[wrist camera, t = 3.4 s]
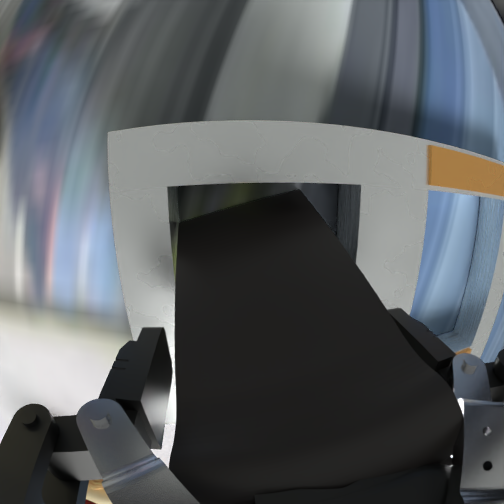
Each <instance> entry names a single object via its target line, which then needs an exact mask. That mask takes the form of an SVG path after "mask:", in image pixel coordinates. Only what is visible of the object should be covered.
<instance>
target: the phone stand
mask: <svg viewBox="0 0 504 504" xmlns="http://www.w3.org/2000/svg"><path fill="white" fill-rule="evenodd" d="M174 339H175V385H176V429H175V437H174V443H173V447H172V452H171V456H170V462H169V470H170V471H171V472H172V473H173V474H174V476H175V477H176V478H177V479H178V480H179V481H180V482H181V484H182V485H183V486H184V487H185V488H186V489H187V490H188V491H189V492H190V493H191V495H192V496H193V497H194V498H195V499H196V500H197V501H198V502H199V503H200V504H255V499H254V495H260V494H269V493H277V492H284V491H290V490H296V489H339V488H344V487H347V486H349V485H351V484H353V483H354V482H356V481H358V480H360V479H367V478H374V477H380V476H385V475H390V474H394V473H398V472H402V471H406V470H409V469H413V468H416V467H418V466H422V465H427V464H433V463H440V464H445V465H448V466H450V465H452V458H451V455H453V445H454V443H455V441H456V439H457V436H458V433H459V431H460V428H461V425H462V421H463V418H464V417H463V413H462V410H461V407H460V405H459V402H458V400H457V398H456V396H455V395H454V393H453V391H452V390H451V388H450V387H449V385H448V384H447V383H446V381H445V380H444V379H443V378H442V377H441V376H440V375H439V374H438V373H437V372H435V371H434V370H433V369H432V368H430V367H429V366H428V365H427V364H426V363H425V362H424V361H423V360H422V359H421V358H420V357H419V356H418V354H417V353H416V352H415V351H414V350H413V348H412V347H411V346H410V344H409V343H408V342H407V340H406V339H405V337H404V336H403V334H402V333H401V331H400V330H399V328H398V326H397V325H396V323H395V322H394V320H393V318H392V317H391V315H390V314H389V312H388V311H387V309H386V307H385V306H384V304H383V303H382V301H381V300H380V298H379V297H378V295H377V294H376V292H375V291H374V289H373V288H372V286H371V285H370V283H369V282H368V280H367V279H366V278H365V276H364V275H363V273H362V272H361V270H360V269H359V268H358V266H357V265H356V263H355V262H354V260H353V259H352V258H351V256H350V255H349V253H348V252H347V251H346V249H345V248H344V247H343V245H342V244H341V242H340V241H339V240H338V238H337V237H336V236H335V234H334V233H333V232H332V230H331V229H330V228H329V226H328V225H327V224H326V222H325V221H324V220H323V219H322V217H321V216H320V215H319V213H318V212H317V211H316V210H315V208H314V207H313V206H312V204H311V203H310V202H309V201H308V199H307V198H306V197H305V196H304V194H303V193H302V192H301V191H300V190H299V189H298V190H294V191H290V192H286V193H282V194H279V195H275V196H271V197H267V198H263V199H260V200H256V201H252V202H249V203H245V204H241V205H238V206H234V207H231V208H227V209H224V210H220V211H217V212H213V213H210V214H207V215H203V216H200V217H197V218H193V219H190V220H187V221H183V222H180V223H179V226H178V240H177V257H176V279H175V326H174Z"/></svg>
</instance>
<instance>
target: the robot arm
mask: <svg viewBox="0 0 504 504" xmlns="http://www.w3.org/2000/svg"><path fill="white" fill-rule="evenodd" d="M387 311H388V312H389V314H390V315H391V317H392V318H393V320H394V322H395V323H396V325H397V326H398V328H399V330H400V331H401V333H402V334H403V336H404V337H405V339H406V340H407V342H408V343H409V344H410V346H411V347H412V348H413V350H414V351H415V352H416V353H417V354H418V356H419V357H420V358H421V359H422V360H423V361H424V362H425V363H426V364H427V365H428V366H429V367H430V368H432V369H433V370H434V371H435V372H437V373H438V374H439V375H440V376H441V377H442V378H443V379H444V380H445V381H446V383H447V384H448V385H449V387H450V388H451V390H452V391H453V393H454V395H455V396H456V398H457V400H458V402H459V405H460V407H461V410H462V413H463V417H464V418H463V421H462V425H461V428H460V431H459V433H458V436H457V439H456V441H455V443H454V445H453V455H451V458H452V465H450V466H448V465H445V464H440V463H433V464H427V465H422V466H418V467H416V468H413V469H409V470H406V471H402V472H398V473H394V474H390V475H385V476H380V477H374V478H367V479H360V480H358V481H356V482H354V483H353V484H351V485H349V486H347V487H344V488H339V489H296V490H290V491H284V492H277V493H269V494H260V495H254V499H255V504H504V349H503V350H501V351H500V352H499V353H498V356H497V358H496V360H495V362H491V363H484V362H483V361H482V360H481V359H480V358H479V357H477V356H475V355H472V354H468V353H461V354H458V355H456V354H455V353H454V352H453V351H452V350H451V349H450V348H449V347H448V346H447V345H446V344H445V343H444V342H442V341H441V340H440V339H439V338H438V337H436V335H435V334H434V333H433V332H431V331H429V329H428V328H427V327H426V326H425V325H424V324H423V323H421V322H419V321H417V320H415V319H413V318H412V317H411V316H409V315H408V314H407V313H406V312H405V311H404V310H403V309H401V308H393V309H387ZM172 376H173V369H172V361H171V356H170V351H169V346H168V341H167V336H166V331H165V329H164V327H143V328H142V330H141V332H140V334H139V337H138V339H137V341H129V342H127V343H126V344H125V345H124V346H123V347H122V348H121V349H120V350H119V352H118V355H117V357H116V361H114V363H113V366H112V369H111V370H110V372H109V375H108V377H107V379H106V381H105V384H104V386H103V388H102V391H101V393H100V396H99V398H98V399H95V400H92V401H89V402H87V403H86V404H84V405H83V406H82V407H81V408H80V409H79V411H78V413H77V415H72V416H59V417H52V415H51V414H50V412H49V410H48V409H47V408H46V407H44V406H42V405H40V404H29V405H26V406H24V407H22V408H20V409H19V410H18V411H17V412H16V413H15V415H14V417H13V419H12V421H11V423H10V425H9V427H8V429H7V431H6V433H5V435H4V437H3V439H2V441H1V444H0V504H85V501H86V495H87V489H88V484H89V480H99V479H103V481H102V486H103V488H104V490H105V492H106V494H107V496H108V497H109V499H110V501H111V502H112V504H200V503H199V502H198V501H197V500H196V499H195V498H194V497H193V496H192V495H191V493H190V492H189V491H188V490H187V489H186V488H185V487H184V486H183V485H182V484H181V482H180V481H179V480H178V479H177V478H176V477H175V476H174V474H173V473H172V472H171V471H170V470H169V468H168V467H167V466H166V465H165V464H164V462H163V461H162V460H161V459H160V458H157V457H156V456H155V455H154V454H153V452H152V451H151V450H150V449H161V448H162V441H163V434H164V427H165V420H166V413H167V407H168V401H169V395H170V389H171V383H172Z"/></svg>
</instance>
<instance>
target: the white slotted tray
mask: <svg viewBox="0 0 504 504" xmlns="http://www.w3.org/2000/svg"><path fill="white" fill-rule="evenodd" d="M108 175H109V192H110V205H111V216H112V225H113V234H114V242H115V249H116V256H117V263H118V269H119V275H120V280H121V286H122V291H123V296H124V301H125V306H126V311H127V315H128V320H129V324H130V328H131V332H132V336H133V340H134V341H137V339H138V337H139V334H140V332H141V330H142V328H143V327H164V329H165V331H166V336H167V341H168V346H169V351H170V356H171V361H172V369H173V376H172V383H171V389H170V395H169V401H168V407H167V413H166V420H165V424H175V425H176V385H175V339H174V326H175V279H176V257H177V240H178V226H179V210H178V191H177V186H183V185H201V184H225V183H335V184H339V196H338V221H337V238H338V240H339V241H340V242H341V244H342V245H343V247H344V248H345V249H346V251H347V252H348V253H349V255H350V256H351V258H352V259H353V260H354V262H355V263H356V265H357V266H358V268H359V269H360V270H361V272H362V273H363V275H364V276H365V278H366V279H367V280H368V282H369V283H370V285H371V286H372V288H373V289H374V291H375V292H376V294H377V295H378V297H379V298H380V300H381V301H382V303H383V304H384V306H385V307H386V309H393V308H401V309H403V310H404V311H405V312H406V313H407V314H408V315H409V316H410V312H411V308H412V303H413V299H414V294H415V290H416V285H417V279H418V274H419V268H420V262H421V256H422V249H423V242H424V234H425V225H426V215H427V203H428V190H434V191H443V192H451V193H459V194H466V195H473V196H480V208H479V218H478V226H477V233H476V240H475V247H474V252H473V258H472V263H471V268H470V273H469V277H468V282H467V286H466V290H465V294H464V298H463V301H462V305H461V308H460V312H459V315H458V319H457V322H456V325H455V328H454V331H451V332H448V333H444V334H441V335H438V336H436V337H438V338H439V339H440V340H441V341H442V342H444V343H445V344H446V345H447V346H448V347H449V348H450V349H451V350H452V351H453V352H454V353H455V354H456V355H458V354H461V353H468V354H472V355H475V356H477V357H479V358H480V357H481V355H482V352H483V350H484V348H485V345H486V343H487V340H488V338H489V335H490V332H491V330H492V327H493V324H494V321H495V318H496V315H497V312H498V309H499V306H500V303H501V300H502V296H503V293H504V162H501V161H499V160H496V159H493V158H490V157H487V156H484V155H481V154H478V153H475V152H471V151H468V150H465V149H461V148H458V147H454V146H450V145H446V144H442V143H438V142H434V141H430V140H426V139H421V138H417V137H412V136H407V135H402V134H397V133H391V132H385V131H379V130H373V129H366V128H359V127H351V126H343V125H334V124H323V123H311V122H296V121H273V120H224V121H200V122H185V123H173V124H163V125H154V126H145V127H138V128H130V129H124V130H117V131H111V132H108Z"/></svg>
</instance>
